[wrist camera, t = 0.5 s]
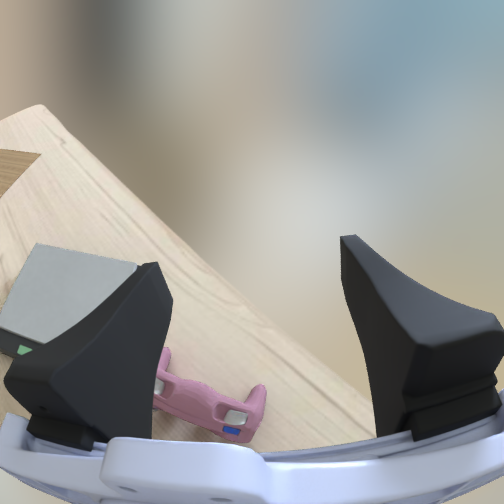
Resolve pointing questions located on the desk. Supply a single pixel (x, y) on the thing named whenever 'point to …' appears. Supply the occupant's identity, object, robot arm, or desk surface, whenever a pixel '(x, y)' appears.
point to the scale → (56, 295)
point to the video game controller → (208, 404)
